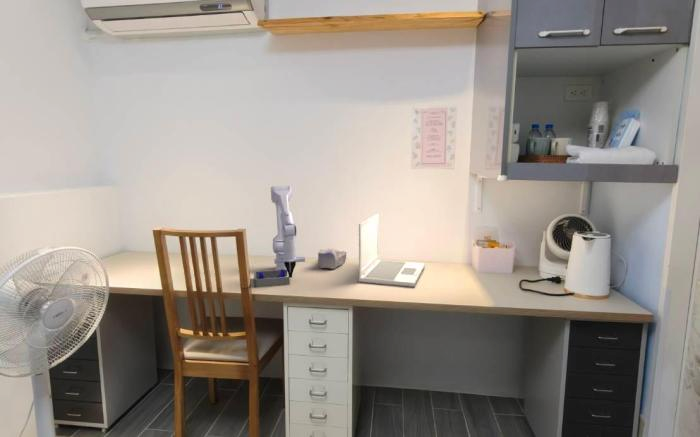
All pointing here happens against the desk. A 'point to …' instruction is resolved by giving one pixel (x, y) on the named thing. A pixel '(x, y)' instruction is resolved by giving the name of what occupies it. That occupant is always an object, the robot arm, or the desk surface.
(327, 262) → the grey rounded block
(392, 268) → the laptop
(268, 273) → the box
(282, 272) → the cable clip
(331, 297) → the desk surface
